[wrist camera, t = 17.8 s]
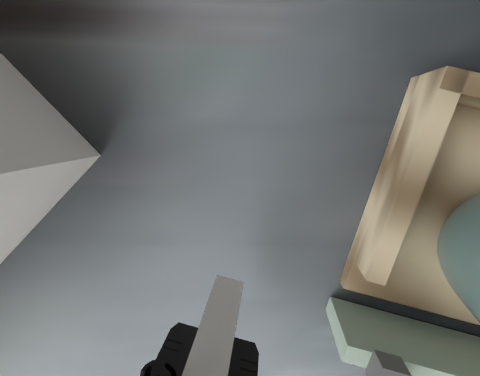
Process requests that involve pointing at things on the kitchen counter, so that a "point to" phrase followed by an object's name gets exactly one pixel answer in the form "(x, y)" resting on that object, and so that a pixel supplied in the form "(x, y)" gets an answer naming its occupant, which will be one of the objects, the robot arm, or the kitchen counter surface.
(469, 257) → the cup
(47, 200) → the tissue box
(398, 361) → the gate
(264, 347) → the kitchen counter surface
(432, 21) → the kitchen counter surface
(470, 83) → the tray
